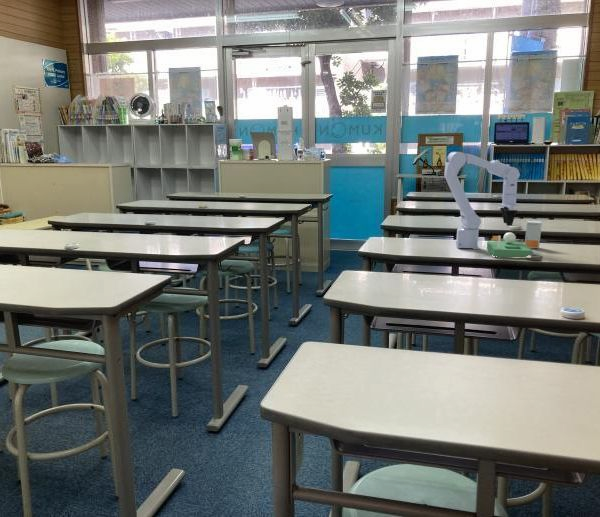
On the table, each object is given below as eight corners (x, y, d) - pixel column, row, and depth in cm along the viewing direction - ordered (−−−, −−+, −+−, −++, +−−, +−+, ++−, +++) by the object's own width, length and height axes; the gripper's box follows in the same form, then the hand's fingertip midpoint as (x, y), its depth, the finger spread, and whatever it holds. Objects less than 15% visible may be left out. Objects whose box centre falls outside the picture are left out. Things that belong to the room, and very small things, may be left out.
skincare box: (524, 248, 245) (526, 221, 242) (525, 246, 248) (527, 220, 246) (538, 249, 242) (541, 222, 239) (539, 247, 246) (541, 221, 243)
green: (491, 257, 224) (493, 236, 222) (485, 248, 243) (486, 228, 242) (531, 259, 221) (533, 237, 219) (521, 249, 240) (523, 229, 239)
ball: (504, 244, 234) (504, 233, 233) (502, 242, 239) (503, 231, 238) (516, 244, 233) (517, 233, 232) (514, 242, 238) (514, 231, 237)
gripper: (522, 195, 233) (520, 226, 235) (515, 192, 247) (514, 222, 249) (505, 195, 234) (503, 226, 237) (499, 192, 248) (498, 221, 251)
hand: (507, 224), depth 243 cm, fingers open, 7 cm apart
